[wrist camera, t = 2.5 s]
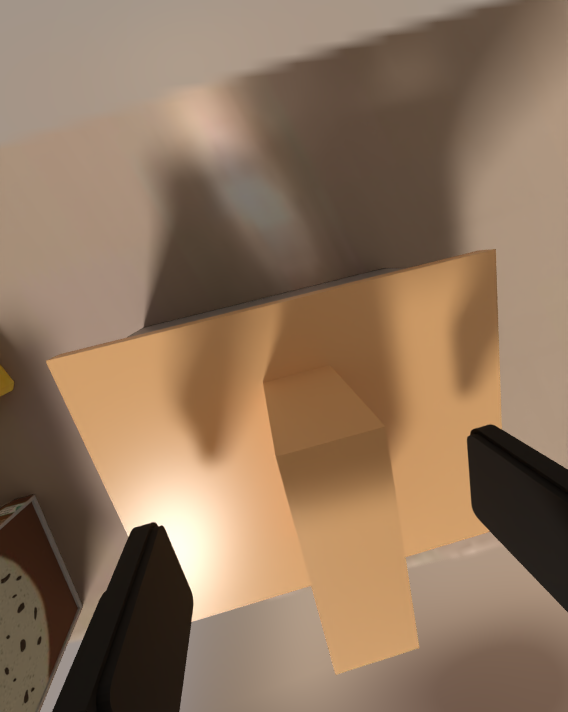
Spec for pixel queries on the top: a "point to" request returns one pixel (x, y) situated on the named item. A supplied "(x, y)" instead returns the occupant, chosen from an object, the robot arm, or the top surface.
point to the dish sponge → (5, 382)
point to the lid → (303, 441)
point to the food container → (31, 606)
